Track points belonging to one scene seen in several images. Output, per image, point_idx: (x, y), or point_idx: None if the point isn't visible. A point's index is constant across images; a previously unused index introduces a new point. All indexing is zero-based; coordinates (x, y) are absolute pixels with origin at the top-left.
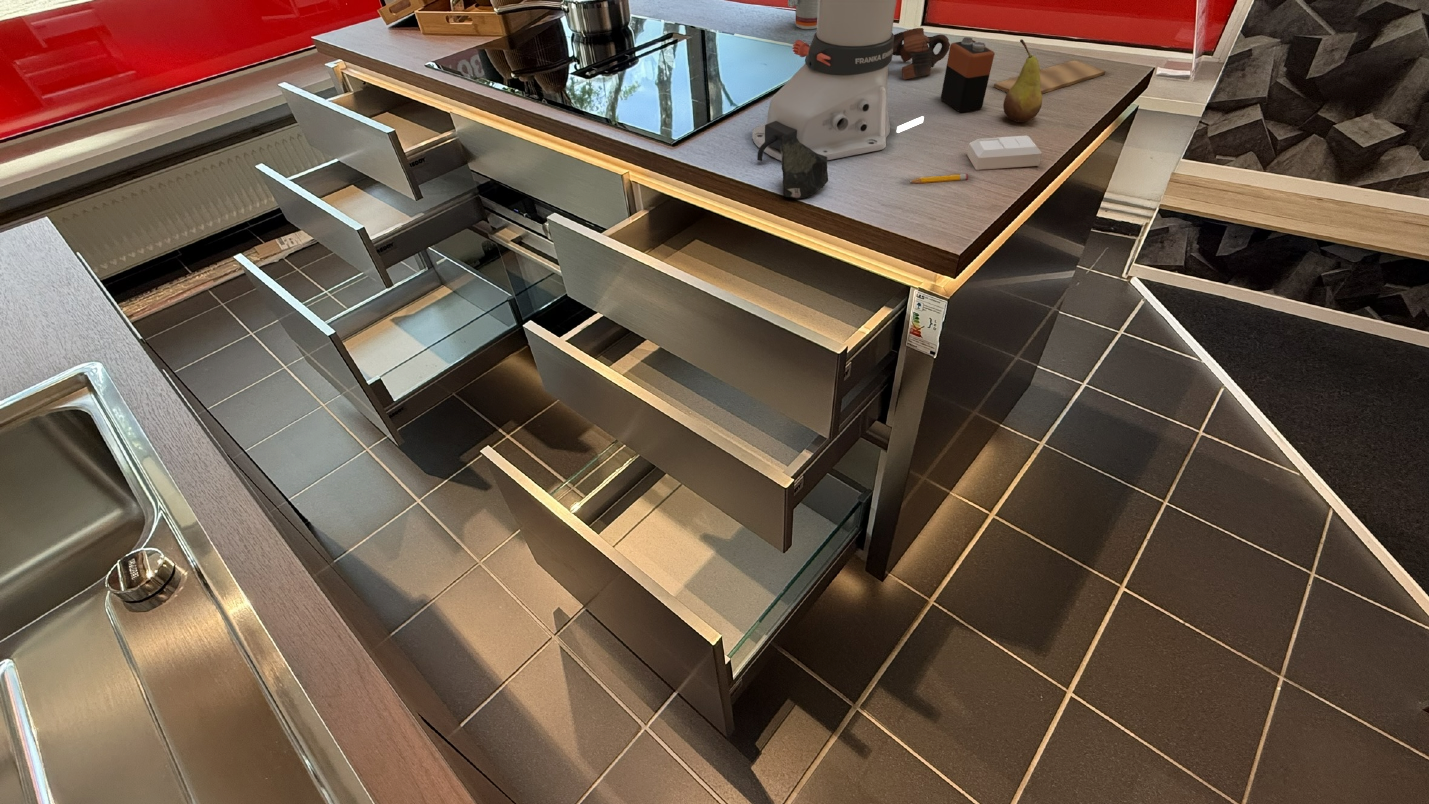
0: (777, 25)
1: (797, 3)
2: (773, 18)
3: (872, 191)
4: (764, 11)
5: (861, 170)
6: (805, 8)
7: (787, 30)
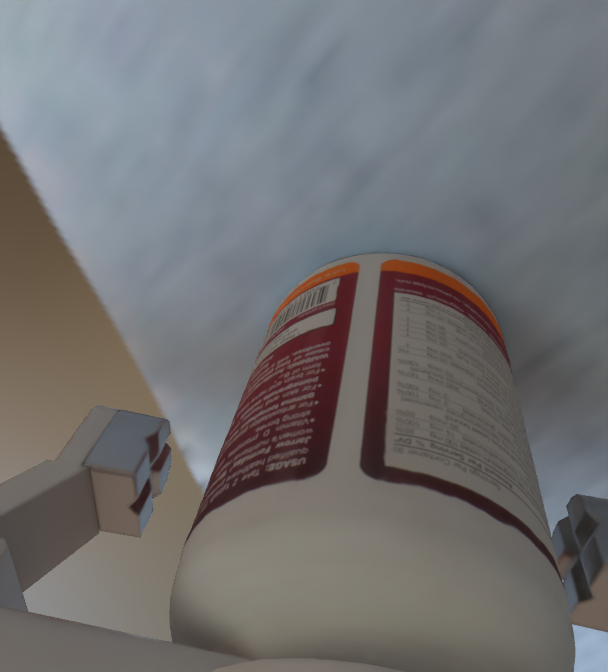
0: None
1: (591, 510)
2: None
3: None
4: None
5: None
6: (520, 419)
7: (589, 391)
